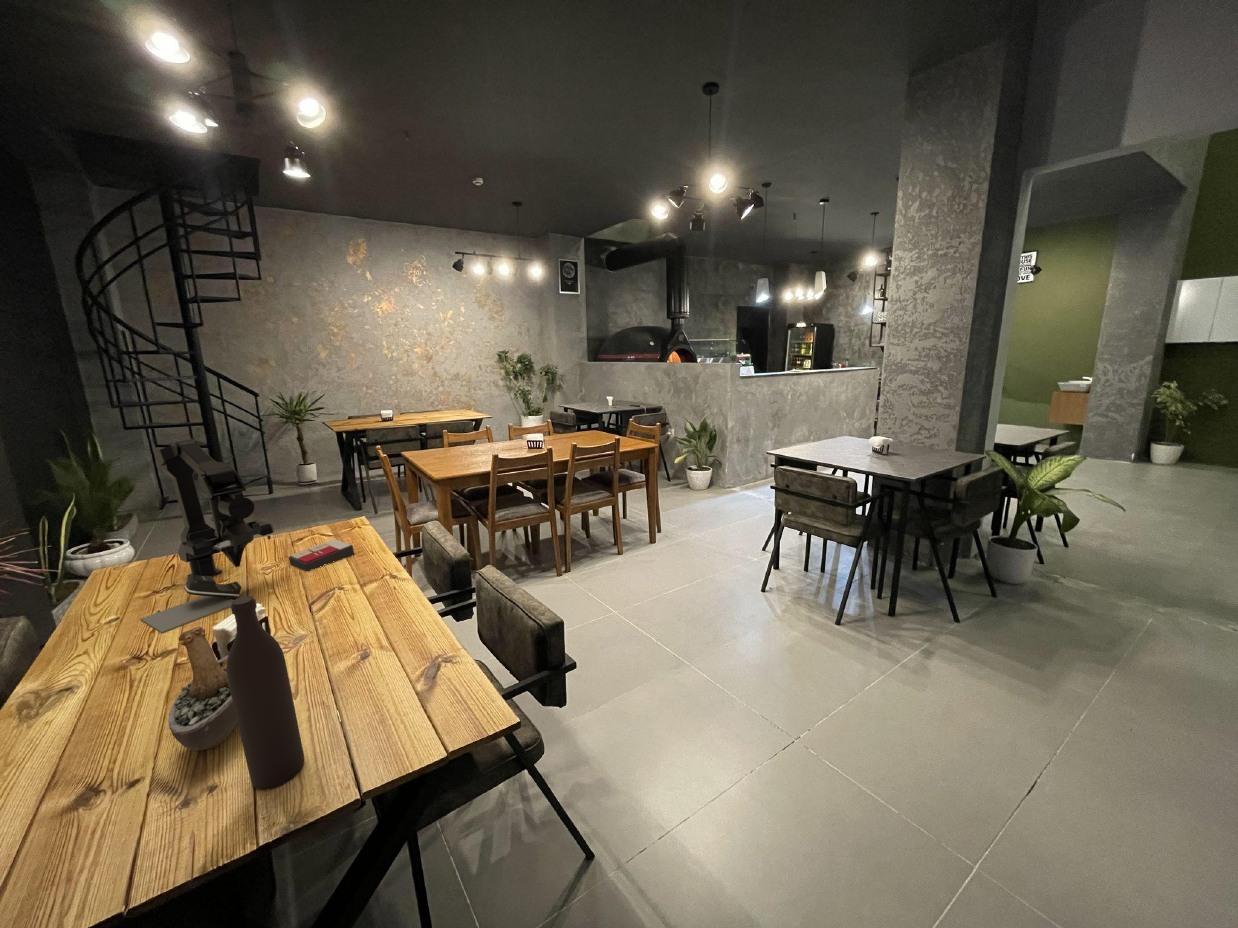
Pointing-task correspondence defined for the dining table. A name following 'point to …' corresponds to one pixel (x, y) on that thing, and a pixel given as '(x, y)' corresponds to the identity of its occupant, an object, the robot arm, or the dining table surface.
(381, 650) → the dining table surface
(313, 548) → the grey and red box
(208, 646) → the planter
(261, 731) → the wine bottle
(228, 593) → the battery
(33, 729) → the dining table surface
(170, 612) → the mat
